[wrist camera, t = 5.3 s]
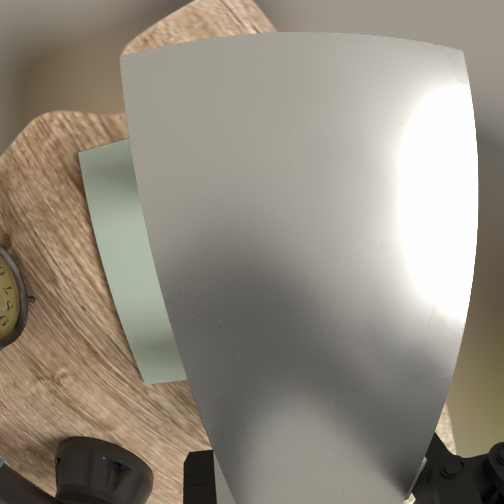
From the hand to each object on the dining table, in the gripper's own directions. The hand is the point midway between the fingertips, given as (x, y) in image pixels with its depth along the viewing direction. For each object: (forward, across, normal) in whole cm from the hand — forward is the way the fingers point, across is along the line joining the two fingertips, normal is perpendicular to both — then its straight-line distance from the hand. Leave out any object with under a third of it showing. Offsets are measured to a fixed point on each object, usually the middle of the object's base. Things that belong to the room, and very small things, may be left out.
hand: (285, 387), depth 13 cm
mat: (+17, -9, 0) cm, 19 cm away
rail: (-3, 0, 0) cm, 3 cm away
